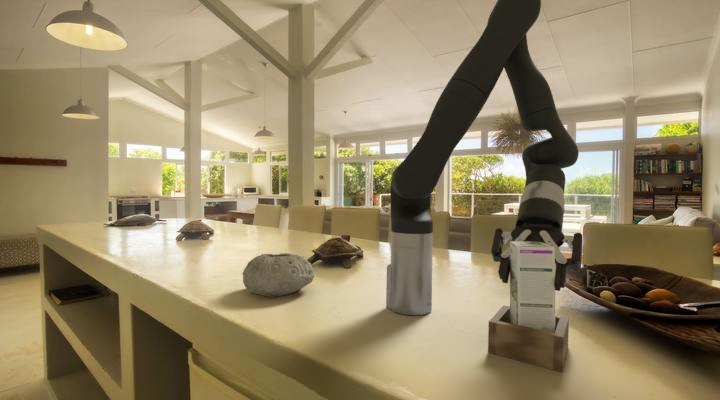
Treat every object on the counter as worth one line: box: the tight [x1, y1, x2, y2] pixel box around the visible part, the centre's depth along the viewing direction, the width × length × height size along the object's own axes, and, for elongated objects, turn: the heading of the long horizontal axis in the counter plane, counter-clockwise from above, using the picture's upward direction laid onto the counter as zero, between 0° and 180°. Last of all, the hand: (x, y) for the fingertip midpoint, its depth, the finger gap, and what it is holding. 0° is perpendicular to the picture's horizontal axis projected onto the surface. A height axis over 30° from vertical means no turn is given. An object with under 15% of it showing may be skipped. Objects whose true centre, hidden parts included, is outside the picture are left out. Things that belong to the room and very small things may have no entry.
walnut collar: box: [487, 305, 570, 373], centre depth 56 cm, size 10×10×5 cm
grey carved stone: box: [242, 252, 315, 297], centre depth 88 cm, size 18×18×10 cm
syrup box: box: [509, 241, 556, 333], centre depth 56 cm, size 6×6×14 cm
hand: (529, 284), depth 55 cm, fingers closed on syrup box, 7 cm apart
